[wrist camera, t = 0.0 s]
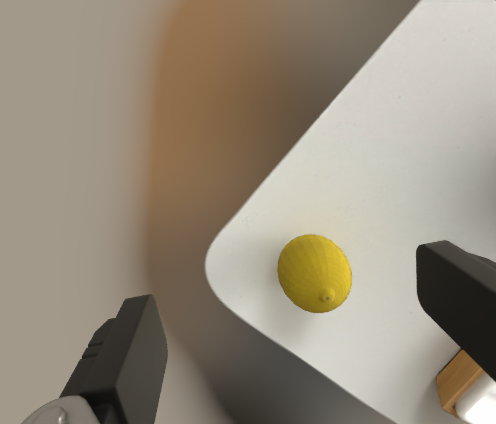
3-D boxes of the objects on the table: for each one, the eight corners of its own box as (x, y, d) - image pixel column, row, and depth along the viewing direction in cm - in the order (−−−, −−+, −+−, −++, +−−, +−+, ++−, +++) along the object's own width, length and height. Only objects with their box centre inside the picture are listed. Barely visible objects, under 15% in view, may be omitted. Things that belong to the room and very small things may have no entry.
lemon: (290, 211, 30) (314, 248, 22) (343, 237, 31) (383, 280, 23) (260, 264, 31) (273, 315, 24) (312, 287, 32) (341, 344, 25)
